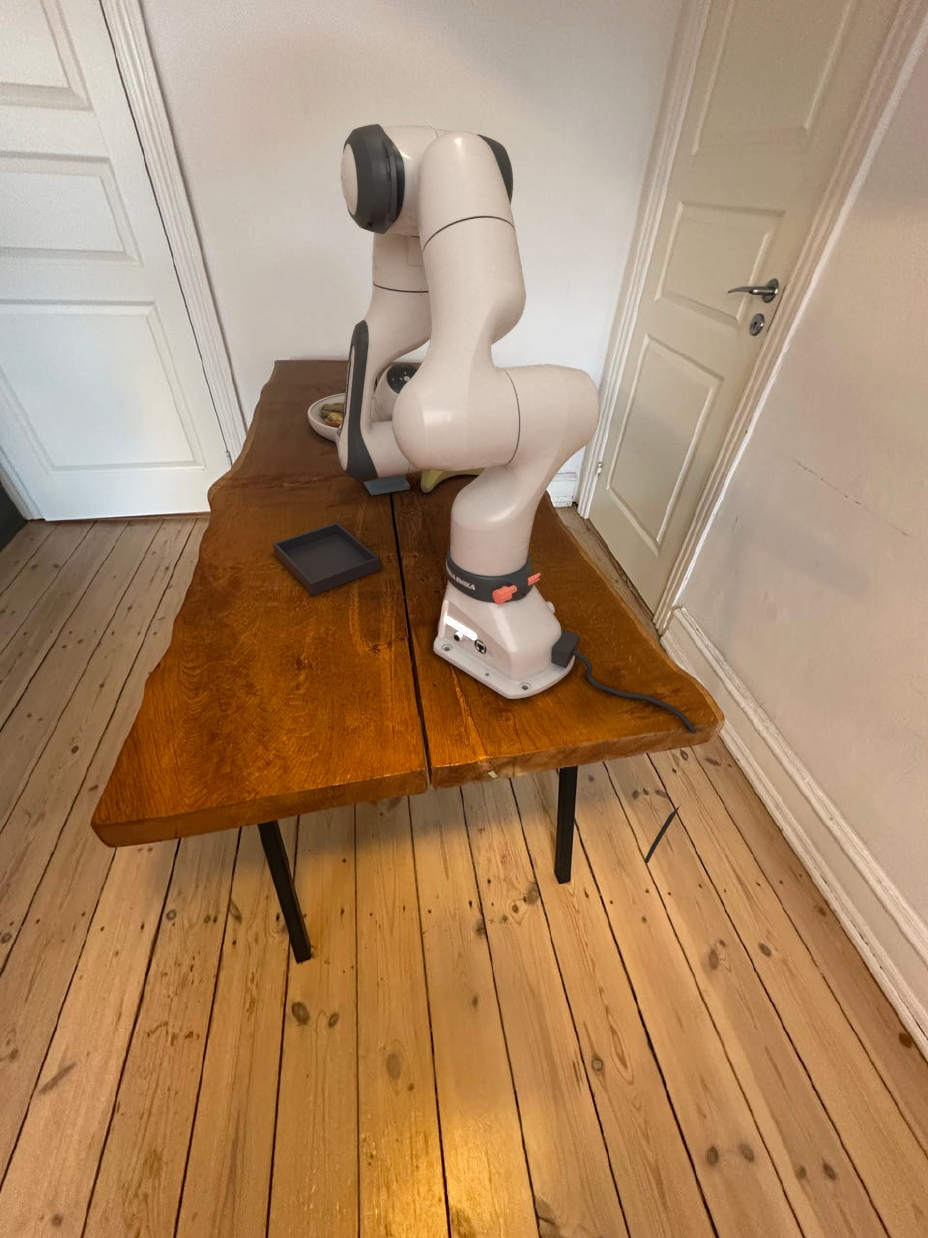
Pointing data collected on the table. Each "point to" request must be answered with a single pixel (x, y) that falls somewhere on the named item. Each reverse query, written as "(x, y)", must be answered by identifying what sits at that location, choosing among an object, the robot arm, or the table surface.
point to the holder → (387, 485)
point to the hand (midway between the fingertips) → (378, 448)
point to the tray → (326, 557)
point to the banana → (442, 477)
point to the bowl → (327, 415)
